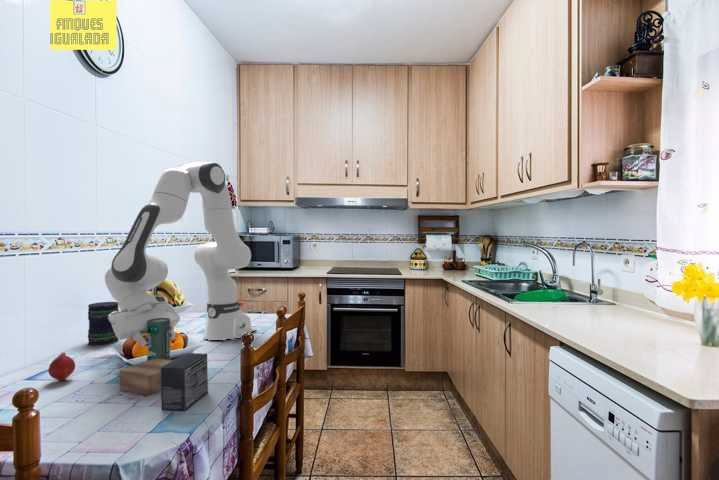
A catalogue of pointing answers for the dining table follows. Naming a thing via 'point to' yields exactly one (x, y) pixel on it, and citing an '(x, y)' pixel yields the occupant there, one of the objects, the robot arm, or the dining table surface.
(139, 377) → the brown cardboard box
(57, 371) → the onion
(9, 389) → the dining table surface
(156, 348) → the can
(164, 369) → the small box
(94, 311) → the storage jar
